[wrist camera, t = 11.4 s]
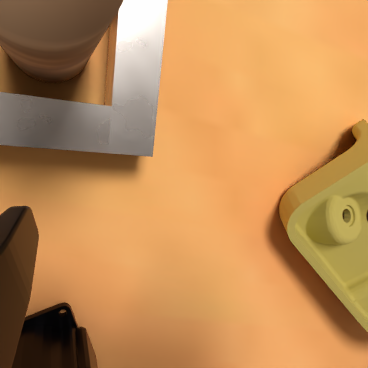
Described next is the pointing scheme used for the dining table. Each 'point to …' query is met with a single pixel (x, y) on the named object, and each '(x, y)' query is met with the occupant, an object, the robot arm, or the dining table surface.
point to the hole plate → (114, 95)
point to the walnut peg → (53, 34)
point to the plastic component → (335, 223)
